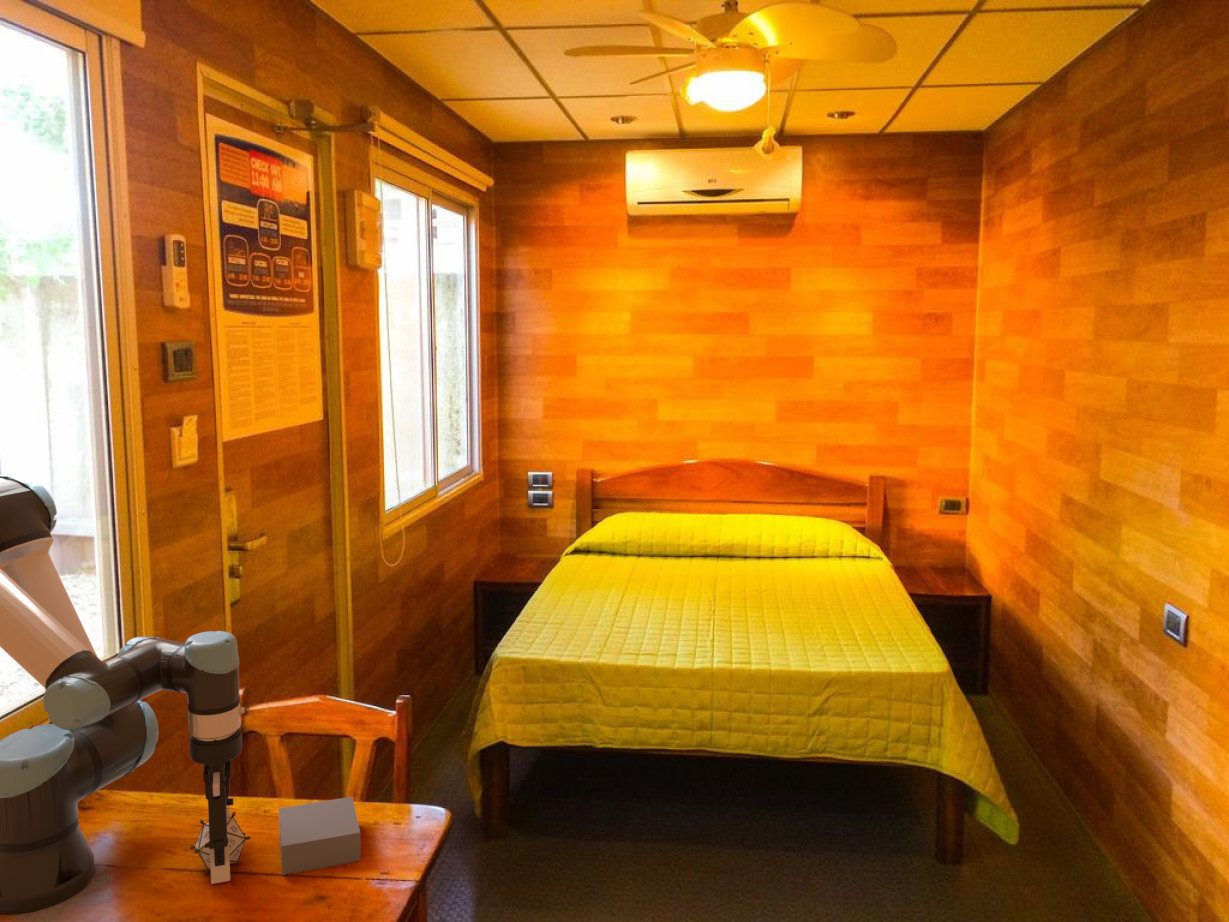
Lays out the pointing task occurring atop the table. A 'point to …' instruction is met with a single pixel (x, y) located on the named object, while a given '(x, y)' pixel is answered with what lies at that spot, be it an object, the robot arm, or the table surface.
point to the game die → (233, 835)
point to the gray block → (319, 835)
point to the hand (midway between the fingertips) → (221, 863)
